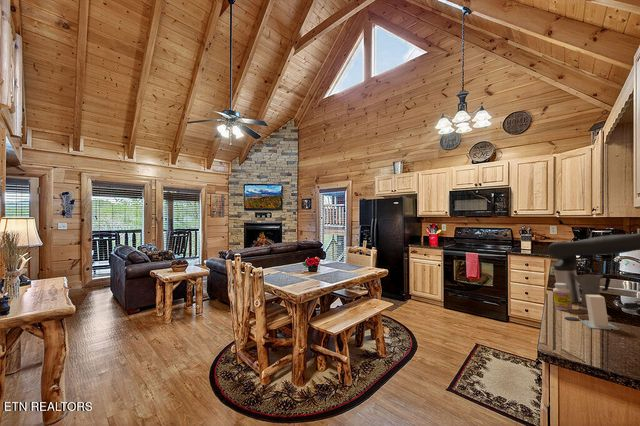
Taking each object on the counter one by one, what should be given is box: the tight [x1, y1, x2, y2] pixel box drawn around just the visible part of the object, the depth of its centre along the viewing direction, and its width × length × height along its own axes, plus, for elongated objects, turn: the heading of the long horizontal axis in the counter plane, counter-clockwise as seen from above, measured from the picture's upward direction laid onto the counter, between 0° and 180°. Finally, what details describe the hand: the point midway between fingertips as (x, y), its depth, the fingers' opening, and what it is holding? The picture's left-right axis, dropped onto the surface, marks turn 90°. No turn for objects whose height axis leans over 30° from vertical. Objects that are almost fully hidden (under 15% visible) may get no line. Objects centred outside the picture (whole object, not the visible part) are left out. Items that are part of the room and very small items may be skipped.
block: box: [585, 294, 609, 327], centre depth 117 cm, size 4×4×12 cm
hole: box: [564, 316, 580, 322], centre depth 126 cm, size 5×5×1 cm
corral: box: [568, 308, 612, 321], centre depth 128 cm, size 11×11×2 cm
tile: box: [579, 320, 620, 331], centre depth 116 cm, size 9×9×1 cm
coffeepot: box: [573, 270, 611, 307], centre depth 144 cm, size 15×9×18 cm, turn 70°
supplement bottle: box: [552, 282, 573, 311], centre depth 141 cm, size 7×7×13 cm
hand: (630, 308), depth 113 cm, fingers open, 8 cm apart
